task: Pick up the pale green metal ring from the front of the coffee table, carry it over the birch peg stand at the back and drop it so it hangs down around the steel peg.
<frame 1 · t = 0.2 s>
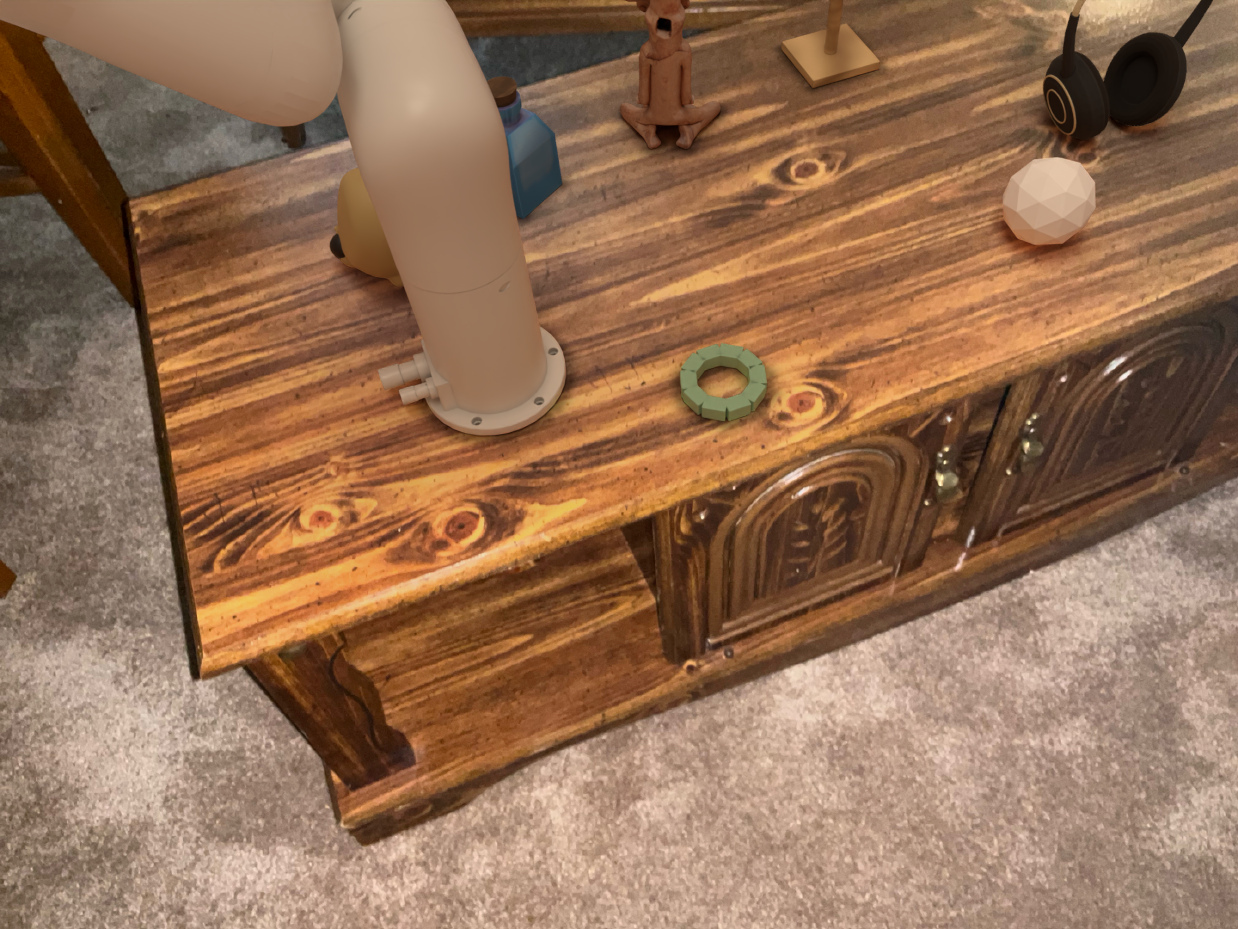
ring: (722, 386, 82), on the sideboard
figurine: (664, 129, 102), on the sideboard
headphones: (1095, 126, 98), on the sideboard
perfume bottle: (520, 191, 98), on the sideboard
toy pig: (398, 263, 94), on the sideboard
peg stand: (829, 59, 107), on the sideboard
geometric ball: (1035, 234, 90), on the sideboard
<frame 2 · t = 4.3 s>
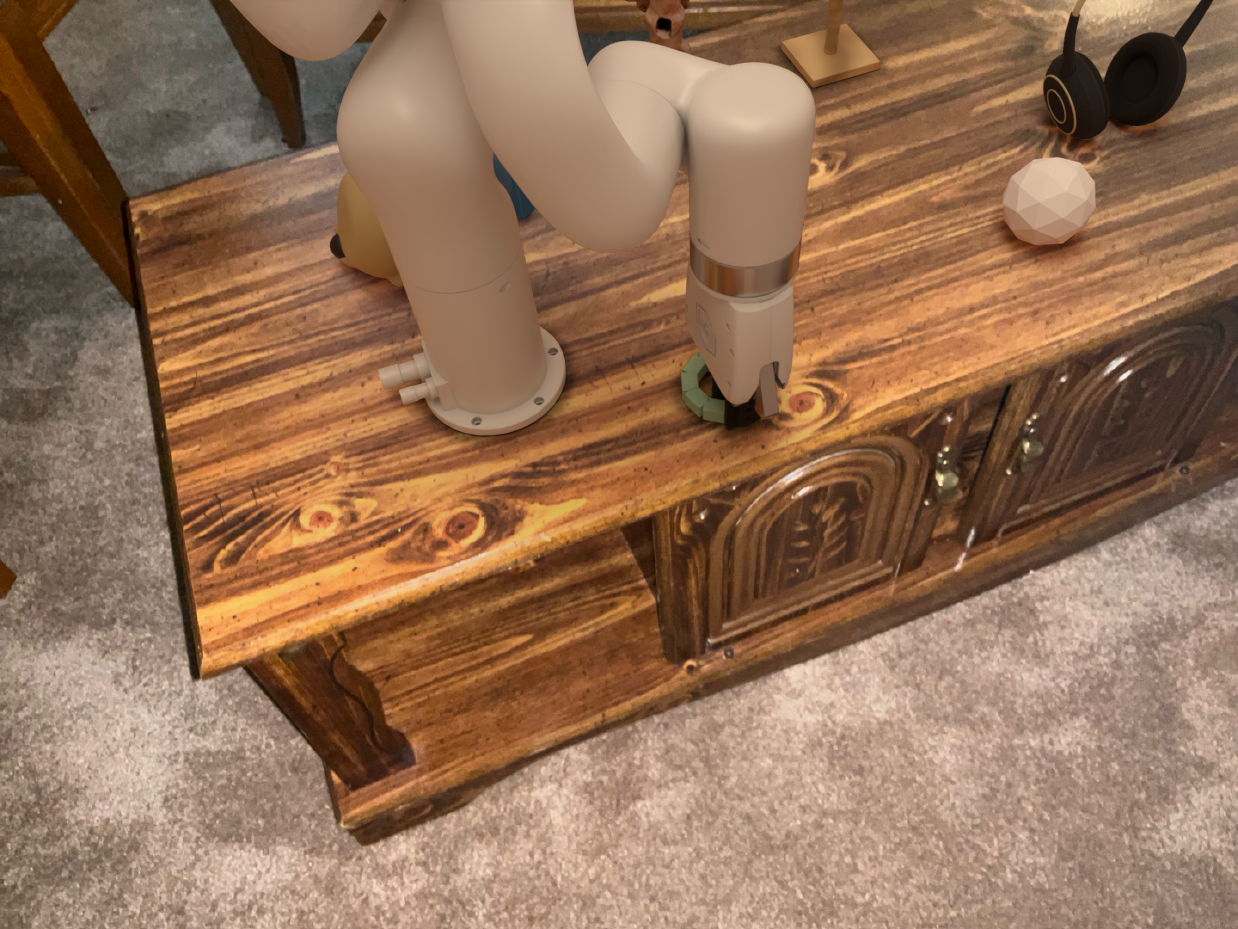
hand: (736, 410, 80), 0 cm above the sideboard, tool pointing down, fingers closed on ring
ring: (723, 388, 82), on the sideboard, touching gripper
everything else where it was.
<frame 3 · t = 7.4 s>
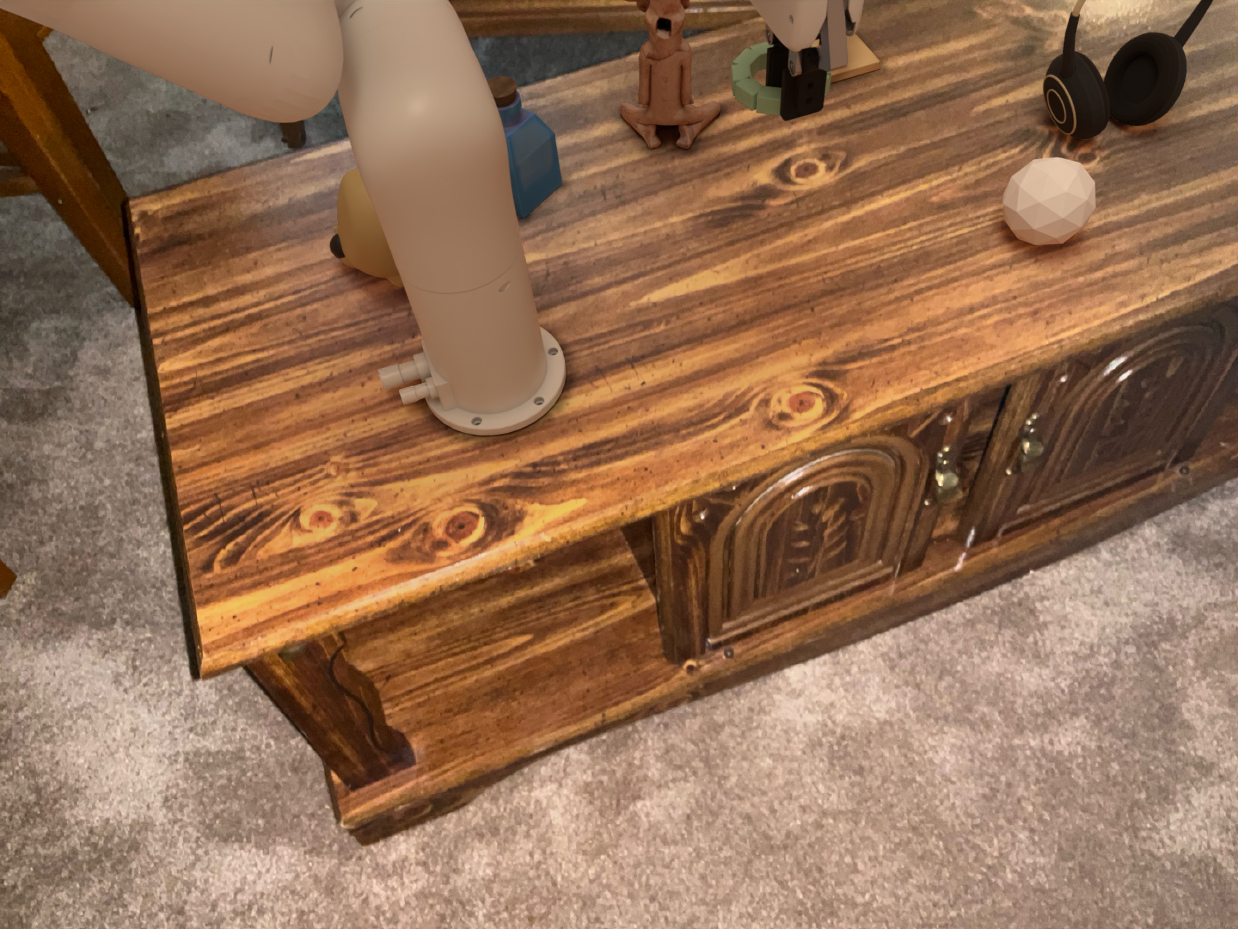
hand: (793, 101, 71), 20 cm above the sideboard, tool pointing down, fingers closed on ring
ring: (779, 84, 72), point 20 cm above the sideboard, touching gripper
everything else where it was.
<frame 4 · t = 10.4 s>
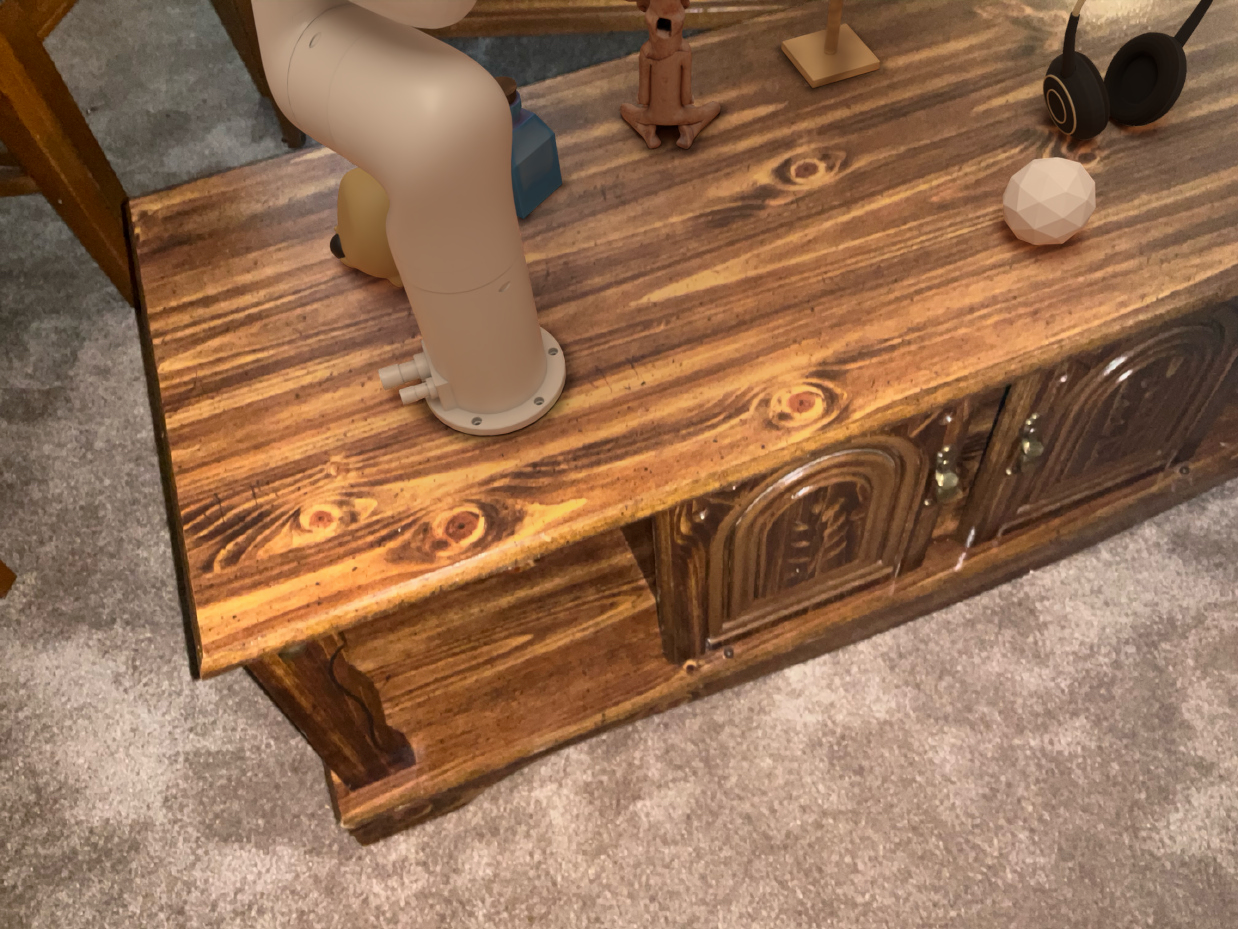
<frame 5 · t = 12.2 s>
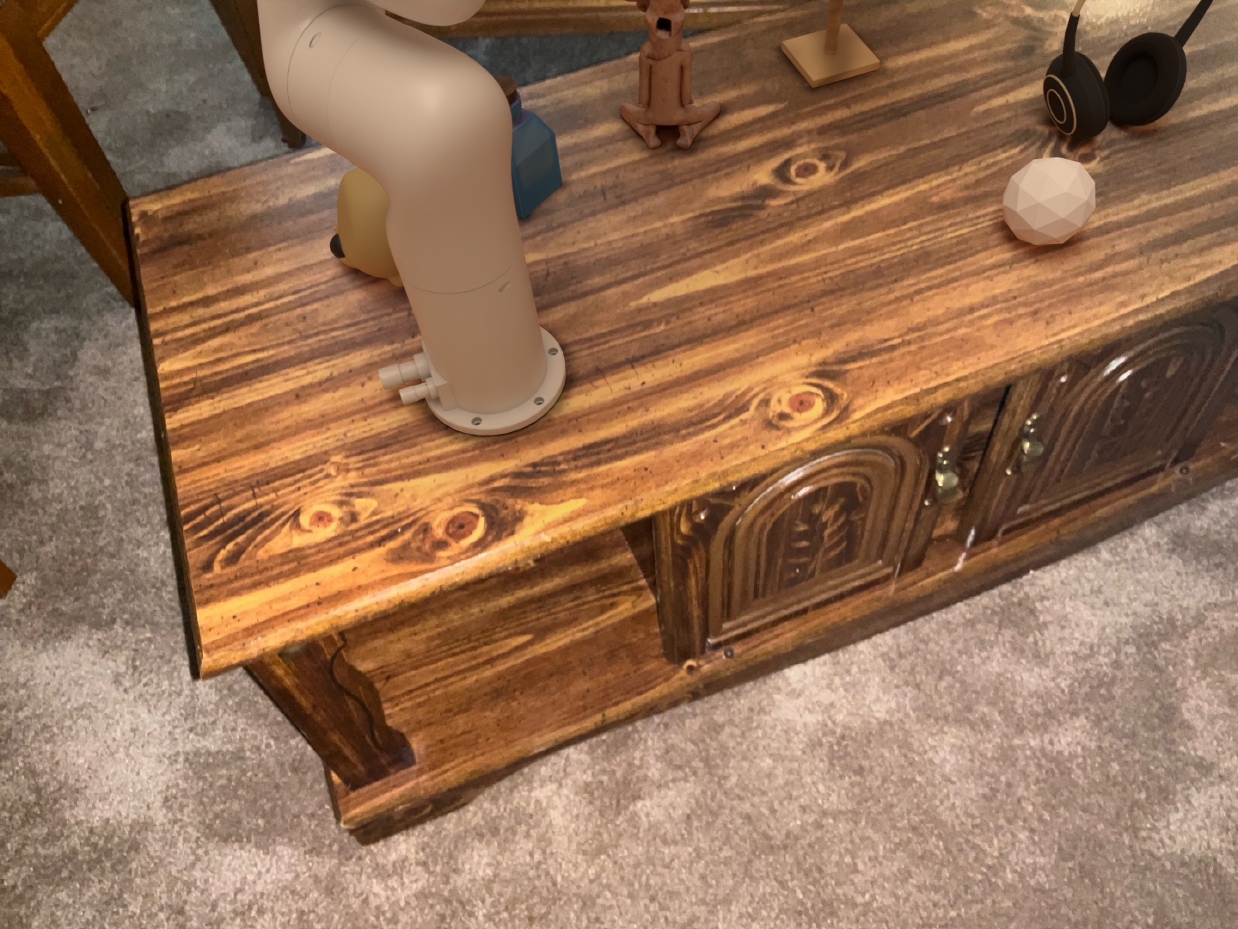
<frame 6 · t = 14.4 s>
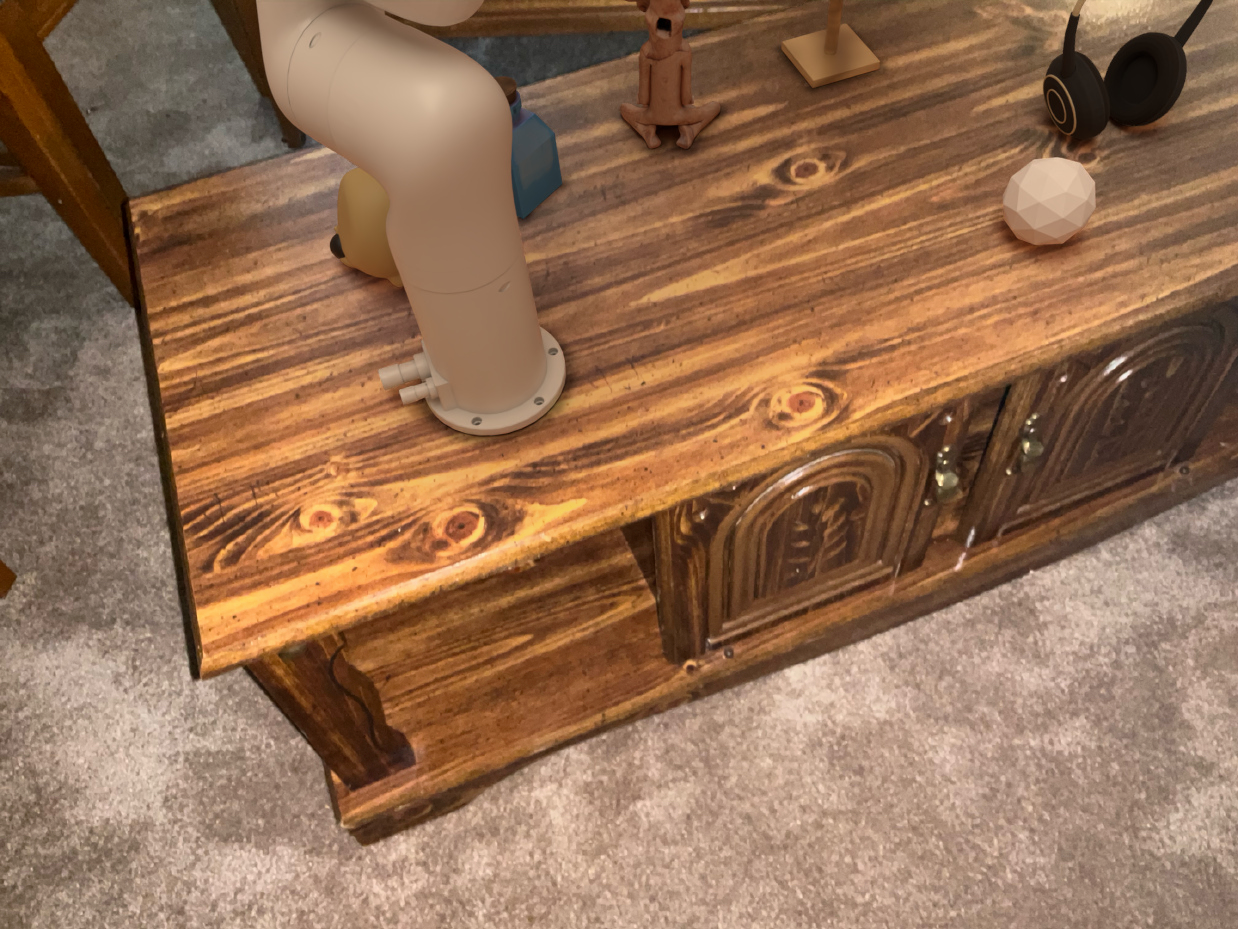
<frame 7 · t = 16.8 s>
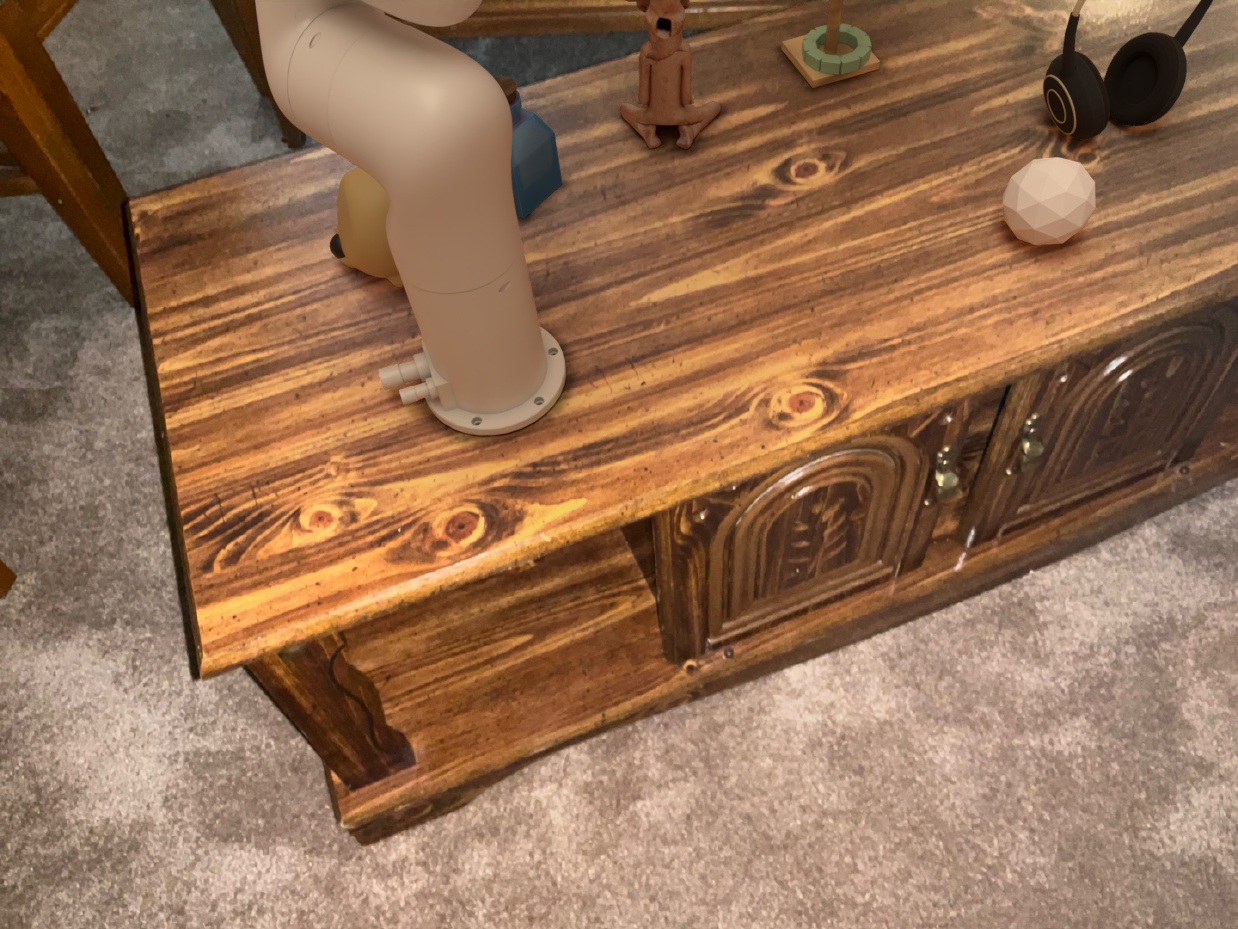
ring: (835, 54, 105), point 1 cm above the sideboard, touching peg stand
everything else where it was.
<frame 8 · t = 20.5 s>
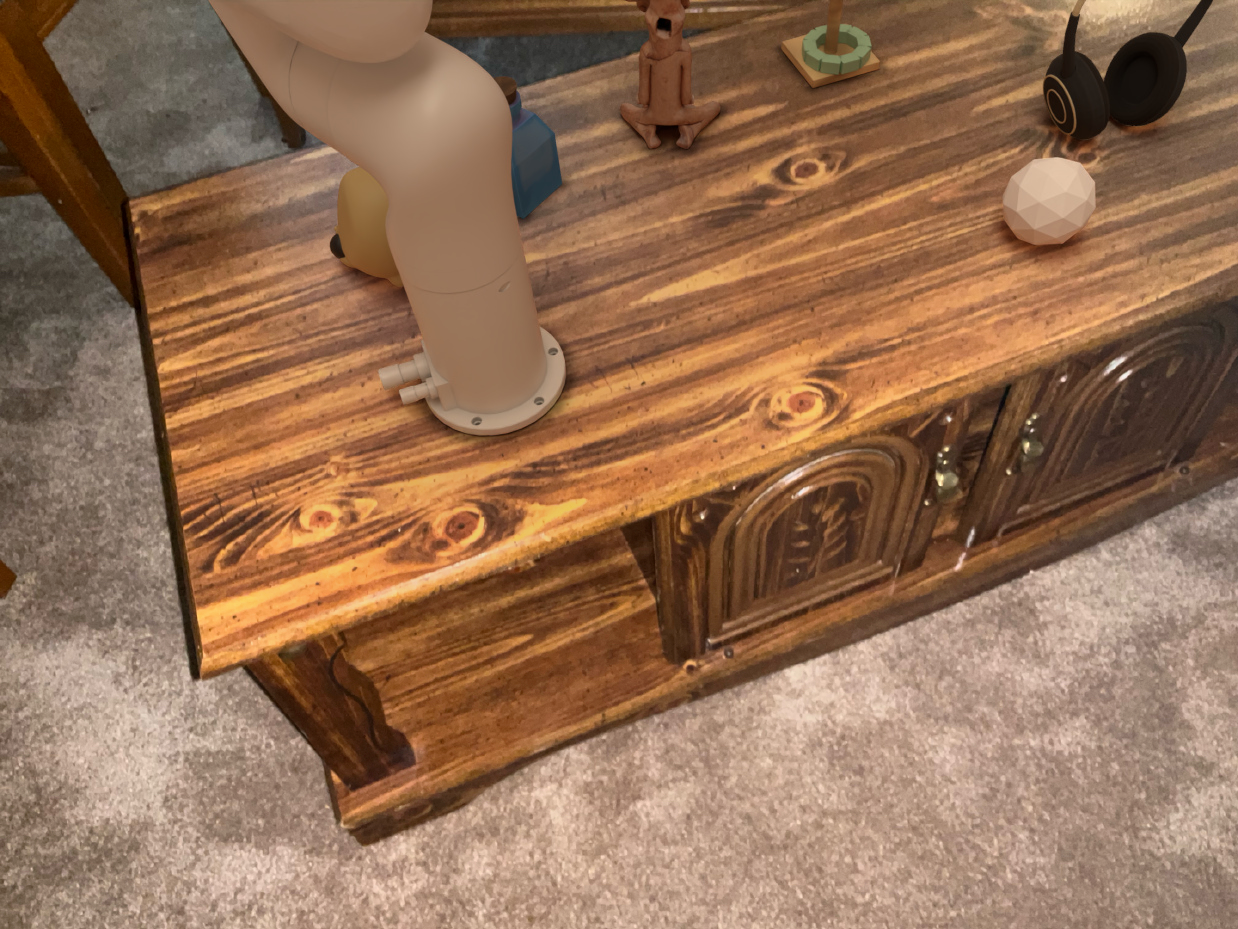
nothing on the sideboard moved.
at the end: ring 0.9 cm from the peg stand (horizontally); ring point 1.0 cm above the sideboard; the gripper is holding nothing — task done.
